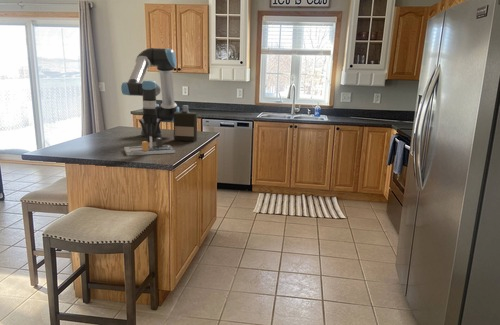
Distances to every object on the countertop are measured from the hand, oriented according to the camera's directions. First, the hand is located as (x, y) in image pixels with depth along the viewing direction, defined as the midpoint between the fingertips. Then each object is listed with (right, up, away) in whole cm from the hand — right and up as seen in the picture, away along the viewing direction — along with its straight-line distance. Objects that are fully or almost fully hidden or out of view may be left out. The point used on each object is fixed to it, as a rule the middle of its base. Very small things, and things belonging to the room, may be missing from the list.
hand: (150, 147), depth 214 cm
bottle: (+13, +7, +43) cm, 46 cm away
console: (-2, -2, +5) cm, 6 cm away
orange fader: (-3, -2, -1) cm, 4 cm away
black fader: (+2, +1, +11) cm, 11 cm away
